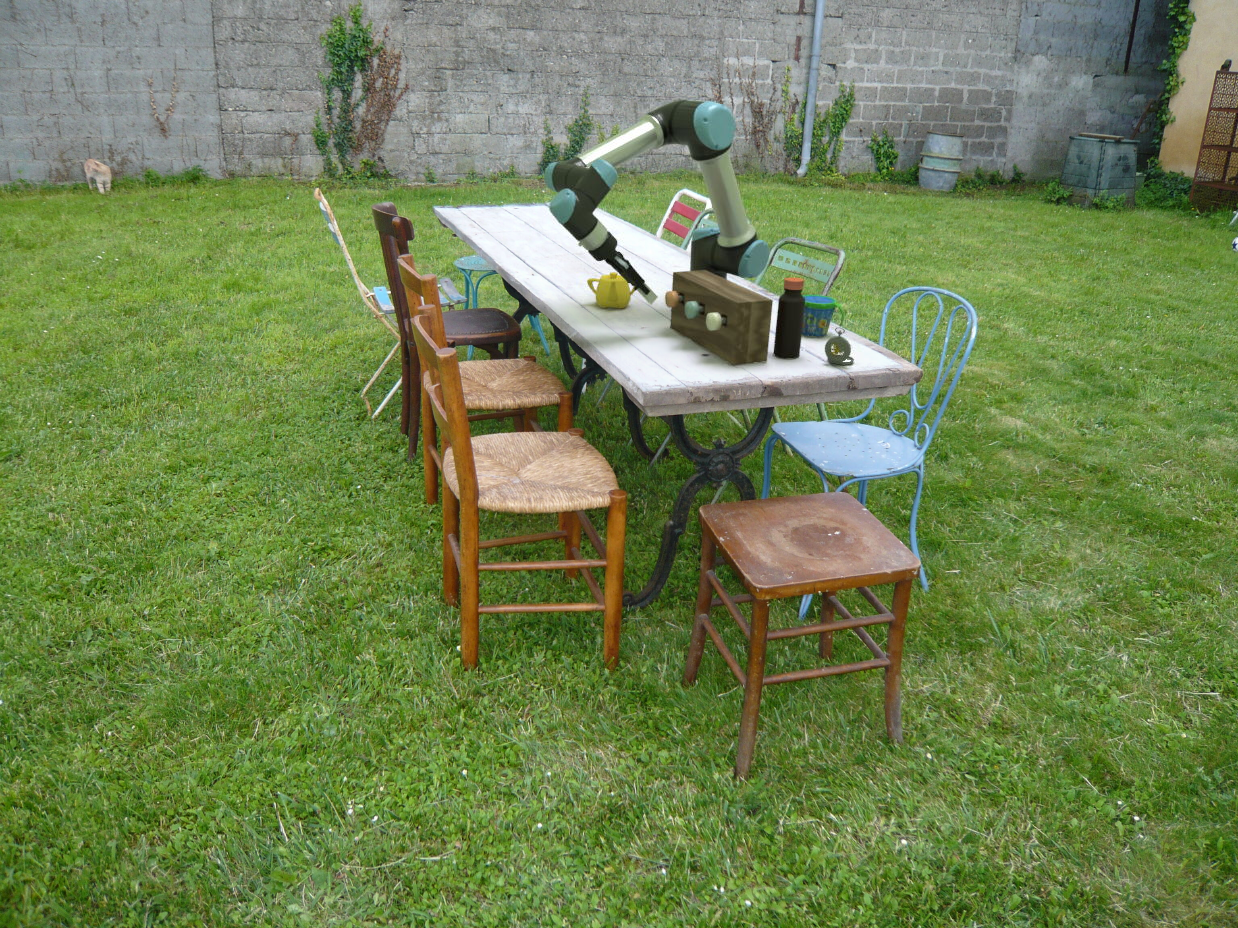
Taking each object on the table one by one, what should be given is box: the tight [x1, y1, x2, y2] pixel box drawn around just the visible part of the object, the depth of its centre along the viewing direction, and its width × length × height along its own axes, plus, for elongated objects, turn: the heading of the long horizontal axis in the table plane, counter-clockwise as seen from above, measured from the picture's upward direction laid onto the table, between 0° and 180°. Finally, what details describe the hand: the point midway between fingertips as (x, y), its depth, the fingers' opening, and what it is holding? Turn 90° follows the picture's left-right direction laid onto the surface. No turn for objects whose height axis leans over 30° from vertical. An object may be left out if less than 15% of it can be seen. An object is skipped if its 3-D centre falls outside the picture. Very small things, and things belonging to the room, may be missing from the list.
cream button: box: [706, 312, 727, 331], centre depth 232 cm, size 6×4×4 cm
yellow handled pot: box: [586, 271, 636, 310], centre depth 281 cm, size 14×13×10 cm
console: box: [669, 270, 774, 366], centre depth 245 cm, size 10×36×16 cm, turn 23°
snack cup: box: [802, 294, 845, 338], centre depth 258 cm, size 16×10×10 cm
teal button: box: [685, 301, 705, 319], centre depth 242 cm, size 6×4×4 cm
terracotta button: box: [664, 290, 684, 308], centre depth 252 cm, size 6×4×4 cm
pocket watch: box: [824, 326, 855, 365], centre depth 234 cm, size 8×8×10 cm
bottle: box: [773, 276, 805, 359], centre depth 237 cm, size 7×7×20 cm
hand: (653, 300), depth 250 cm, fingers closed
